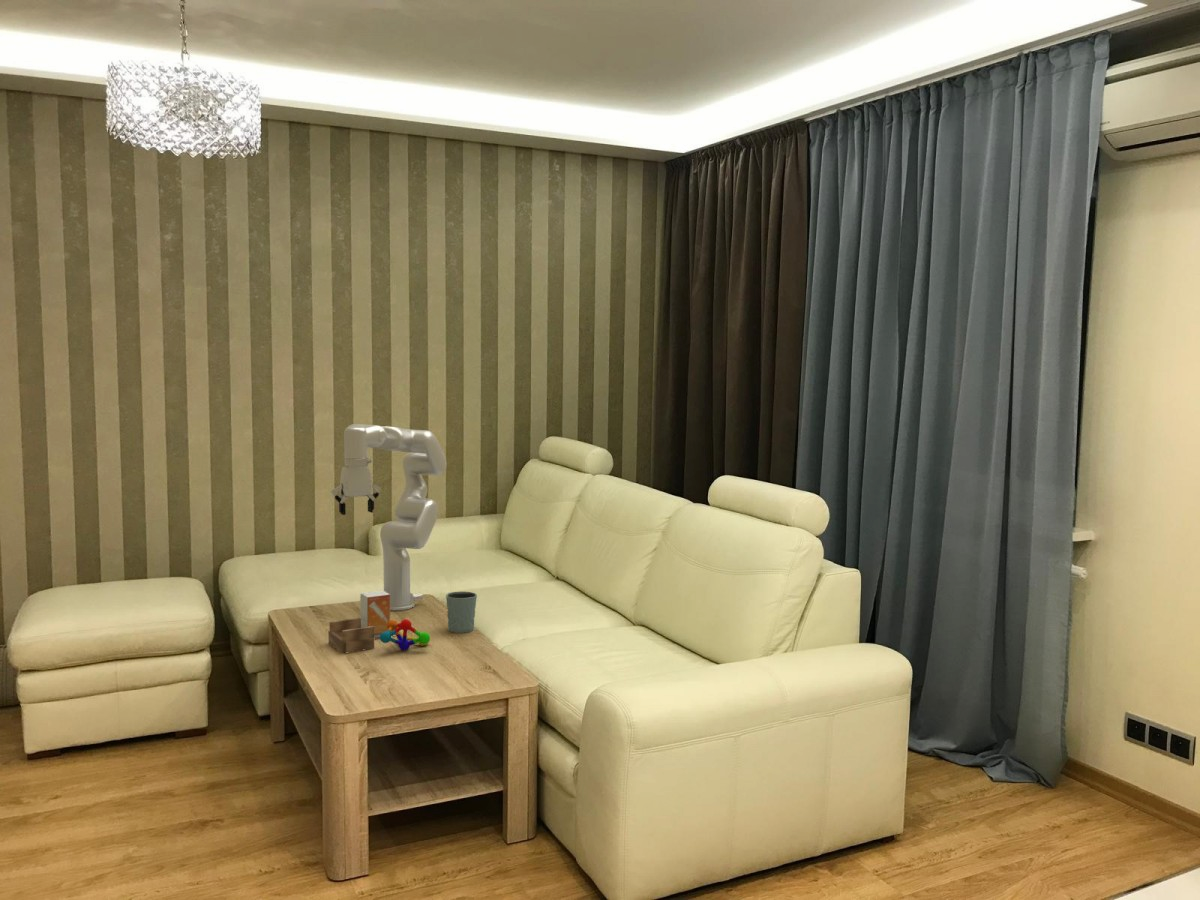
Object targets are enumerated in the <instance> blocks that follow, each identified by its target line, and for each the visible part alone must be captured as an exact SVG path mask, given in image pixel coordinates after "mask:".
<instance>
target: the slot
mask: <svg viewBox="0 0 1200 900" xmlns="http://www.w3.org/2000/svg"><path fill="white" fill-rule="evenodd" d="M327 633H328V645H330V644H331V645H330V646H332V647H333V646H334V647H335V648H334V647H333V648H334V649H336V650H337V649H338V650H339V651H338V650H337V651H338V652H339V653H341V654H342V653H343V654H347V653H346V652H349V653H353V652H352V651H355V652H359V651H358V650H362V651H364V650H363V649H368V650H370V649H369V648H374V649H375V639H374V626H369V627H362V628H361V617H354V618H348V619H339V620H334V621H329V631H328V632H327Z"/></svg>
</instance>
